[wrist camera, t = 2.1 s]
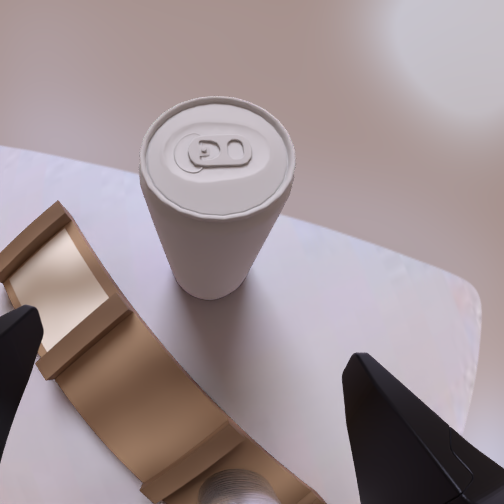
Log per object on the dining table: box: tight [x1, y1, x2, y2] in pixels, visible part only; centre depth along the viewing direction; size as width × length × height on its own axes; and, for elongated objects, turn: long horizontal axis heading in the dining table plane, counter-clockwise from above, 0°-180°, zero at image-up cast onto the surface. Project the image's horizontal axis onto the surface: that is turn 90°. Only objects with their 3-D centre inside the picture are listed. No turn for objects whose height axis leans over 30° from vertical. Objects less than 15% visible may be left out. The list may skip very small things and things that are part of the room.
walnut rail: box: [0, 201, 327, 504], centre depth 15 cm, size 26×7×3 cm, turn 42°
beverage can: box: [139, 96, 296, 300], centre depth 14 cm, size 5×5×12 cm
